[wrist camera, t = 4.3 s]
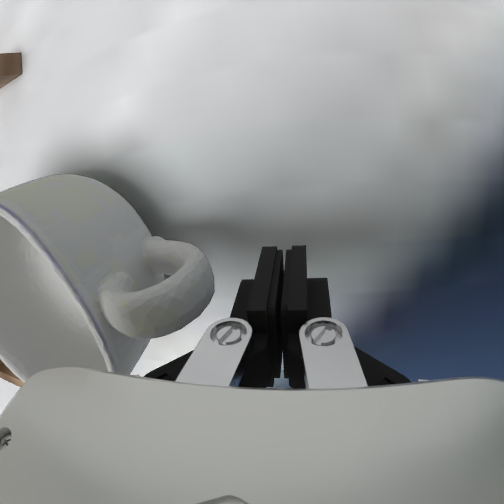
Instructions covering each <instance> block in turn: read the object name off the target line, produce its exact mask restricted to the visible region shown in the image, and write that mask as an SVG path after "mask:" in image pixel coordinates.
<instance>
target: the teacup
mask: <svg viewBox="0 0 504 504" xmlns="http://www.w3.org/2000/svg"><path fill="white" fill-rule="evenodd" d="M164 274H165V275H171V276H170V277H169V278H167V279H165V280H164ZM213 294H214V276H213V272H212V269H211V266H210V264H209V262H208V260H207V258H206V256H205V255H204V253H203V252H202V251H201V250H200V249H199V248H198V247H196V246H194V245H192V244H189V243H187V242H181V241H171V240H165V239H163V238H162V237H159V236H153V237H152V236H151V233H150V231H149V230H148V228H147V227H146V225H145V224H144V222H143V221H142V219H141V217H140V216H139V215H138V213H137V212H136V211H135V209H134V208H133V207H132V206H131V205H130V204H129V203H128V202H127V201H126V200H125V199H124V198H123V197H122V196H120V195H119V194H118V193H117V192H115V191H114V190H113V189H111V188H110V187H109V186H107V185H105V184H103V183H101V182H99V181H97V180H95V179H92V178H89V177H85V176H80V175H75V174H59V175H52V176H47V177H43V178H39V179H36V180H32V181H29V182H26V183H23V184H20V185H17V186H15V187H12V188H9V189H7V190H4V191H2V192H0V359H1V360H2V362H3V363H4V364H5V365H6V366H7V367H8V368H9V369H10V370H11V371H12V373H14V374H15V375H16V376H17V377H18V378H19V379H20V380H21V381H22V382H23V383H25V382H26V381H27V380H28V379H29V378H30V377H31V376H33V375H34V374H36V373H37V372H40V371H43V370H46V369H51V368H58V367H80V368H90V369H96V370H102V371H108V372H115V373H121V374H127V375H130V373H131V372H132V370H133V368H134V367H135V365H136V364H137V362H138V360H139V359H140V357H141V355H142V354H143V352H144V350H145V348H146V347H147V345H148V343H149V341H150V340H151V339H152V338H157V337H162V336H165V335H168V334H171V333H173V332H175V331H177V330H180V329H182V328H183V327H185V326H186V325H187V324H189V323H190V322H192V321H193V320H194V319H196V318H197V317H198V316H200V315H201V313H202V312H203V311H204V309H205V308H206V307H207V305H208V304H209V303H210V301H211V299H212V296H213Z"/></svg>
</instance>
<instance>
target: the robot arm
mask: <svg viewBox="0 0 504 504" xmlns="http://www.w3.org/2000/svg"><path fill="white" fill-rule="evenodd" d="M282 353H283V363H284V378H289V386H291V387H292V388H293V389H280V388H266V387H273V385H274V378H280V373H281V363H282ZM0 504H504V380H500V379H494V378H488V377H455V378H446V379H438V380H419V379H418V381H417V382H410V380H409V379H408V378H406V377H405V376H404V375H402V374H400V373H399V372H397V371H395V370H393V369H392V368H390V367H388V366H387V365H385V364H383V363H381V362H380V361H378V360H376V359H375V358H373V357H371V356H369V355H368V354H366V353H364V352H363V351H361V350H359V349H358V348H356V347H354V346H353V343H352V341H351V338H350V335H349V333H348V330H347V328H346V327H345V325H344V324H343V323H341V322H340V321H338V320H336V319H333V318H332V317H331V307H330V298H329V289H328V281H327V278H307V265H306V245H304V246H292V250H286V260H285V270H284V265H283V251H282V250H277V246H272V247H262V250H261V254H260V258H259V262H258V267H257V271H256V275H255V279H250V280H242V281H241V283H240V286H239V290H238V293H237V296H236V299H235V302H234V306H233V309H232V312H231V315H230V318H225V319H221V320H219V321H216V322H214V323H213V324H211V325H210V326H209V327H208V329H207V330H206V331H205V333H204V335H203V336H202V338H201V340H200V341H199V343H198V345H197V346H196V348H195V350H193V351H191V352H189V353H187V354H185V355H183V356H181V357H179V358H177V359H175V360H173V361H171V362H169V363H167V364H165V365H163V366H161V367H159V368H157V369H155V370H153V371H151V372H149V373H148V374H146V375H145V376H144V377H140V376H139V375H127V374H121V373H115V372H108V371H102V370H96V369H90V368H80V367H58V368H51V369H46V370H43V371H40V372H37V373H36V374H34V375H33V376H31V377H30V378H29V379H28V380H27V381H26V382H25V383H24V384H23V386H22V387H21V388H20V389H19V390H18V392H17V393H16V394H15V395H14V397H13V398H12V399H11V401H10V402H9V403H8V405H7V406H6V408H5V409H4V411H3V412H2V414H1V415H0Z"/></svg>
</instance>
